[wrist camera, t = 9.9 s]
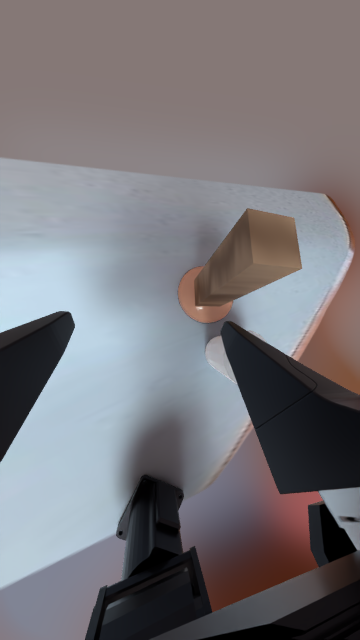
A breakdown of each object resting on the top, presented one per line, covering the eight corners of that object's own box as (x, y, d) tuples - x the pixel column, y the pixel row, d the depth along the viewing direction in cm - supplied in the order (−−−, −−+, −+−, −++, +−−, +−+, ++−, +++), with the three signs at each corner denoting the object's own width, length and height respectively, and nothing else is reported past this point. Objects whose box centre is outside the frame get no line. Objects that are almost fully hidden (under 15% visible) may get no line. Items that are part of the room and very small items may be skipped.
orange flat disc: (217, 333, 23) (219, 333, 22) (167, 303, 22) (167, 302, 21) (238, 287, 25) (241, 285, 25) (194, 258, 24) (195, 255, 23)
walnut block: (219, 306, 23) (302, 268, 11) (195, 305, 22) (253, 263, 10) (218, 281, 24) (294, 217, 11) (194, 280, 23) (247, 208, 10)
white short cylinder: (242, 366, 23) (279, 378, 17) (207, 378, 22) (232, 397, 15) (232, 328, 24) (264, 324, 17) (197, 337, 22) (217, 337, 16)
